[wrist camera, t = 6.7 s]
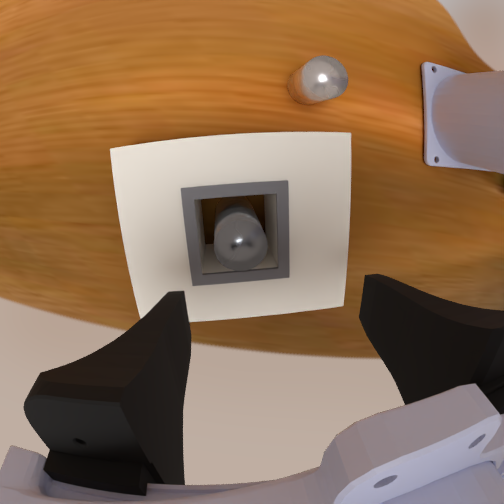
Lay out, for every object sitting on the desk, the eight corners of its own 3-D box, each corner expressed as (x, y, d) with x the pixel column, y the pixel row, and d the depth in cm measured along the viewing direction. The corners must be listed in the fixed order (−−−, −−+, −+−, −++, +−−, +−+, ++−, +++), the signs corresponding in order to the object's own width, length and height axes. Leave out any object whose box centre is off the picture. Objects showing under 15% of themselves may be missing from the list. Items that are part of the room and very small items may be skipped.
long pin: (250, 191, 20) (265, 217, 14) (254, 227, 21) (269, 267, 15) (212, 196, 20) (210, 224, 14) (218, 231, 20) (218, 274, 14)
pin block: (323, 132, 19) (352, 132, 14) (321, 274, 22) (344, 307, 18) (133, 145, 18) (108, 149, 13) (154, 289, 21) (141, 326, 17)
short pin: (322, 70, 17) (346, 57, 13) (324, 105, 18) (349, 99, 14) (286, 68, 17) (302, 54, 13) (288, 104, 18) (305, 97, 14)
